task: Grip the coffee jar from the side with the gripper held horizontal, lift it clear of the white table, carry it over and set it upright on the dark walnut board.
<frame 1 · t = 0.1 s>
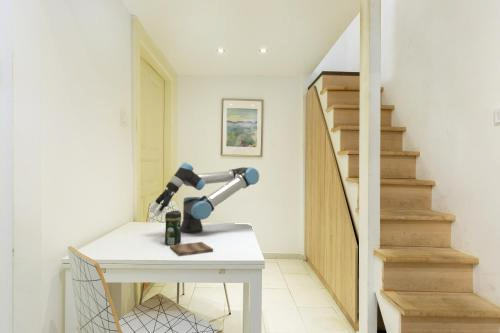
hand: (153, 213, 180), 15 cm above the table, tool tilted 35°, fingers open, 13 cm apart
coffee jar: (172, 243, 171), on the table
walnut board: (191, 249, 159), on the table
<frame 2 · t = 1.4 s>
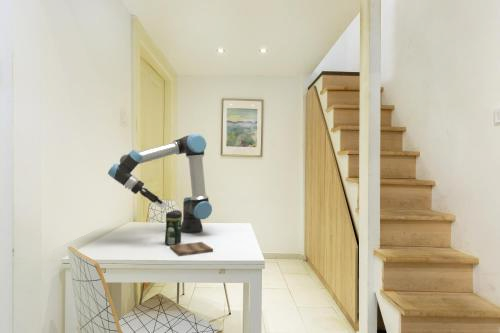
hand: (165, 207, 175), 20 cm above the table, tool tilted 55°, fingers open, 13 cm apart
nothing on the table moved.
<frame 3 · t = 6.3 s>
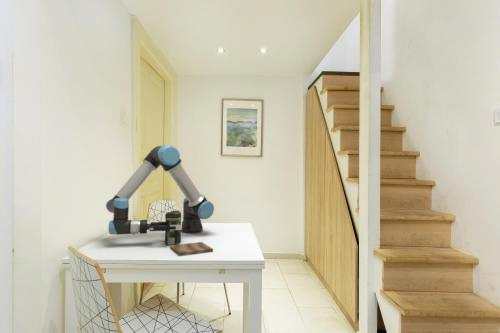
hand: (181, 225, 173), 10 cm above the table, tool horizontal, fingers closed on coffee jar, 9 cm apart
coffee jar: (172, 243, 171), on the table, touching gripper
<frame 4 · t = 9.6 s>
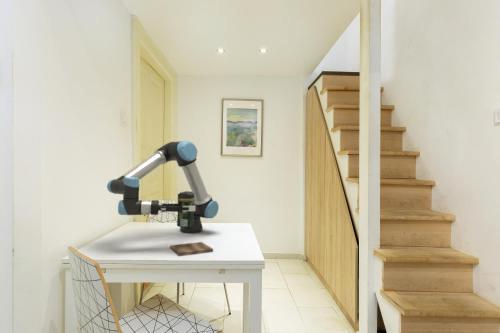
hand: (194, 207, 163), 22 cm above the table, tool horizontal, fingers closed on coffee jar, 9 cm apart
coffee jar: (185, 226, 161), point 12 cm above the table, touching gripper
when the fingers open (13 cm above the table, at t = 13.0 s): coffee jar drops 1 cm, resting on walnut board.
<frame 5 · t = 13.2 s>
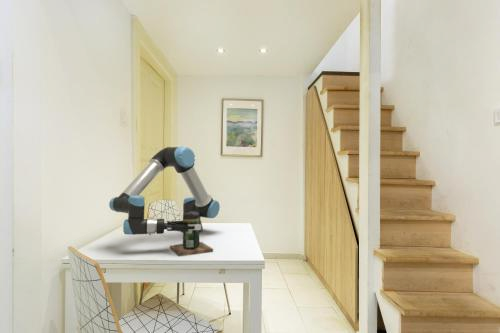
hand: (200, 225, 161), 13 cm above the table, tool horizontal, fingers open, 10 cm apart
coffee jar: (191, 247, 159), point 1 cm above the table, touching gripper, walnut board
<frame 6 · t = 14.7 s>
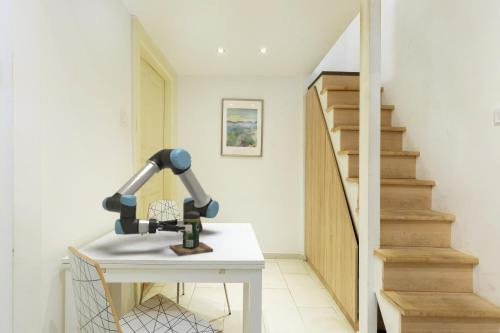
hand: (190, 225, 159), 13 cm above the table, tool horizontal, fingers open, 13 cm apart
coffee jar: (190, 246, 160), point 1 cm above the table, touching walnut board
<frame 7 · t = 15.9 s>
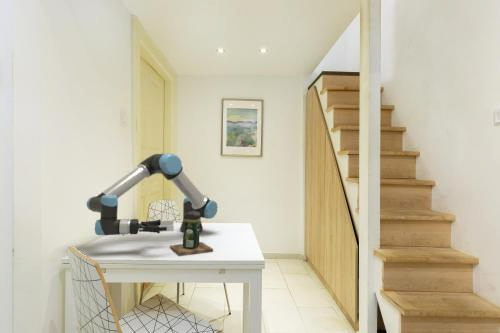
hand: (173, 225, 157), 13 cm above the table, tool horizontal, fingers open, 13 cm apart
nothing on the table moved.
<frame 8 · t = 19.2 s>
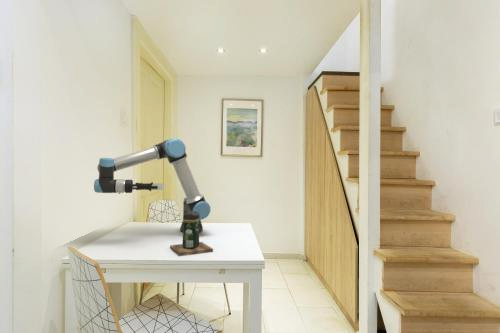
hand: (164, 186, 176), 32 cm above the table, tool horizontal, fingers open, 13 cm apart
nothing on the table moved.
at the end: coffee jar inside the target area on the walnut board (1.0 cm from its centre), point 1.3 cm above the walnut board's base; coffee jar tilted 0°; the gripper is holding nothing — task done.
